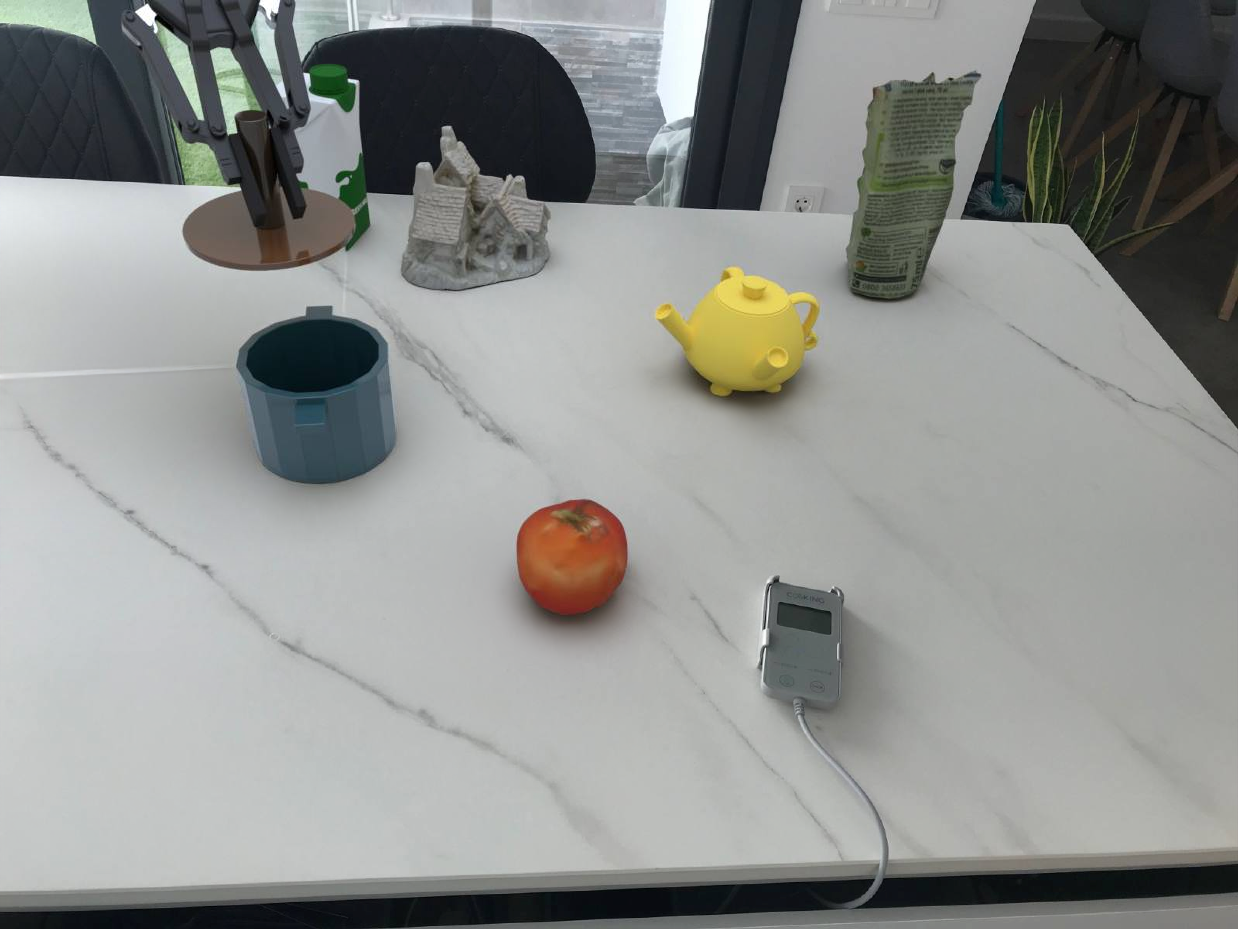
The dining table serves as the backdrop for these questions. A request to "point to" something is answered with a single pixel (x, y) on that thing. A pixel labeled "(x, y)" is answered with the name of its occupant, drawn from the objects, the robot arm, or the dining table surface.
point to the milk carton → (333, 141)
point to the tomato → (571, 556)
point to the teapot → (744, 333)
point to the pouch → (905, 181)
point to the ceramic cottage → (471, 225)
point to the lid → (281, 242)
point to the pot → (318, 396)
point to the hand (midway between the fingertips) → (280, 215)
